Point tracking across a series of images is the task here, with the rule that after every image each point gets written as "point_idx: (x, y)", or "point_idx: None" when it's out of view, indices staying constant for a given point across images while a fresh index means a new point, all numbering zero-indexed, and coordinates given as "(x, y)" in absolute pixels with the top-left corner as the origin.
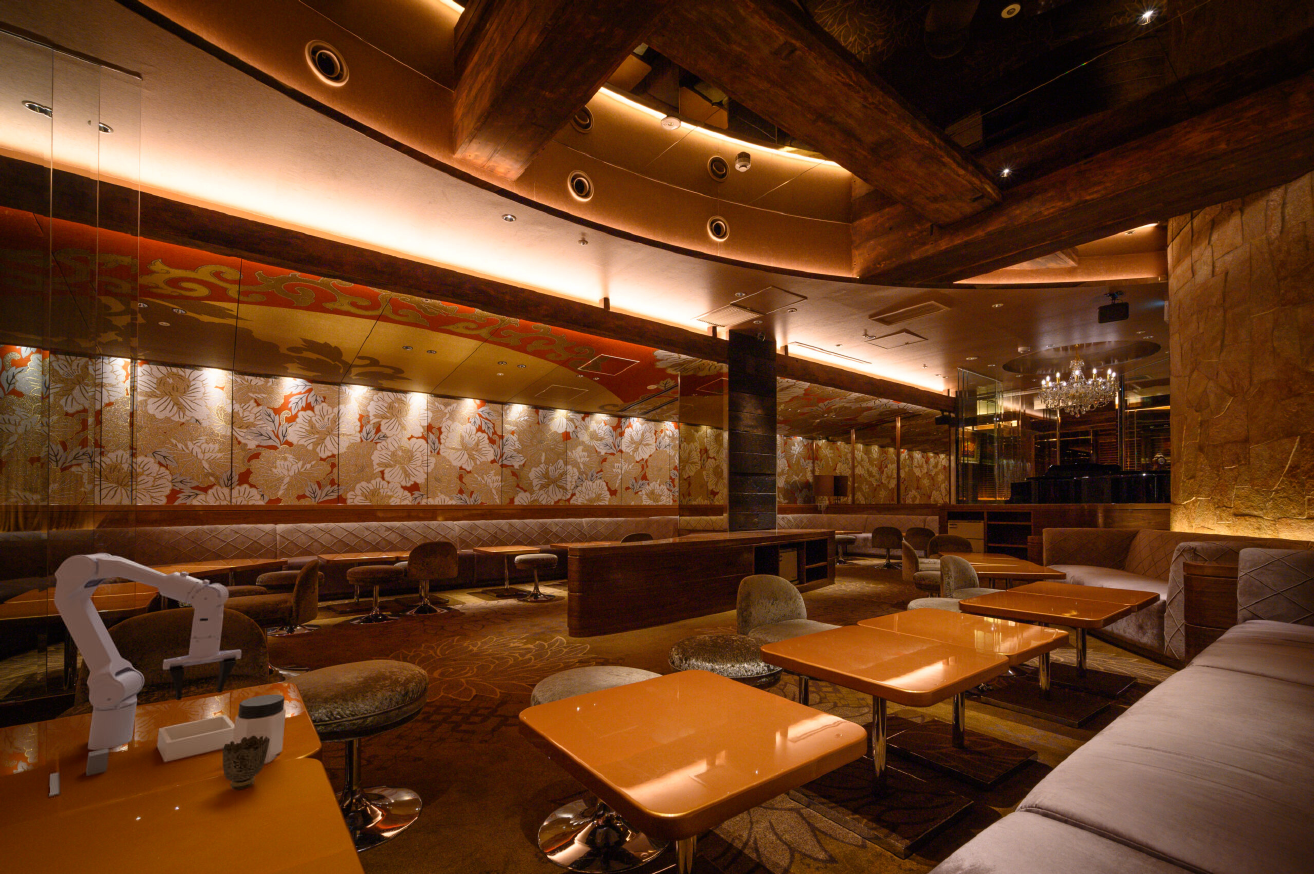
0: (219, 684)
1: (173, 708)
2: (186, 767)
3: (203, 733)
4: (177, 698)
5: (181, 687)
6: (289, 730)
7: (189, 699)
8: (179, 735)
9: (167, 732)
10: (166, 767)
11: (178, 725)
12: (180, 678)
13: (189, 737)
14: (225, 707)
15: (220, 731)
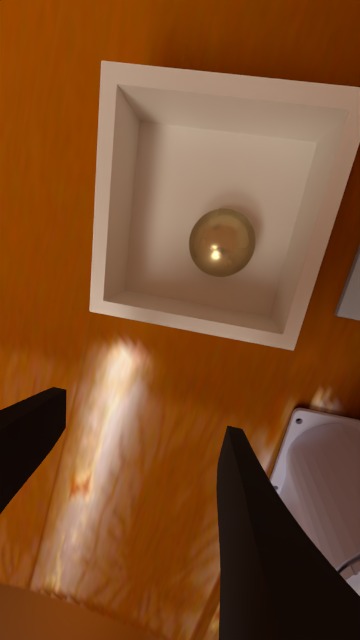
0: (36, 425)
1: (139, 586)
2: (297, 35)
3: (166, 299)
4: (244, 435)
5: (243, 476)
6: None
7: (100, 610)
8: (230, 314)
9: (267, 327)
10: None
11: (239, 325)
12: (280, 555)
13: (282, 90)
14: (59, 507)
15: (165, 69)
